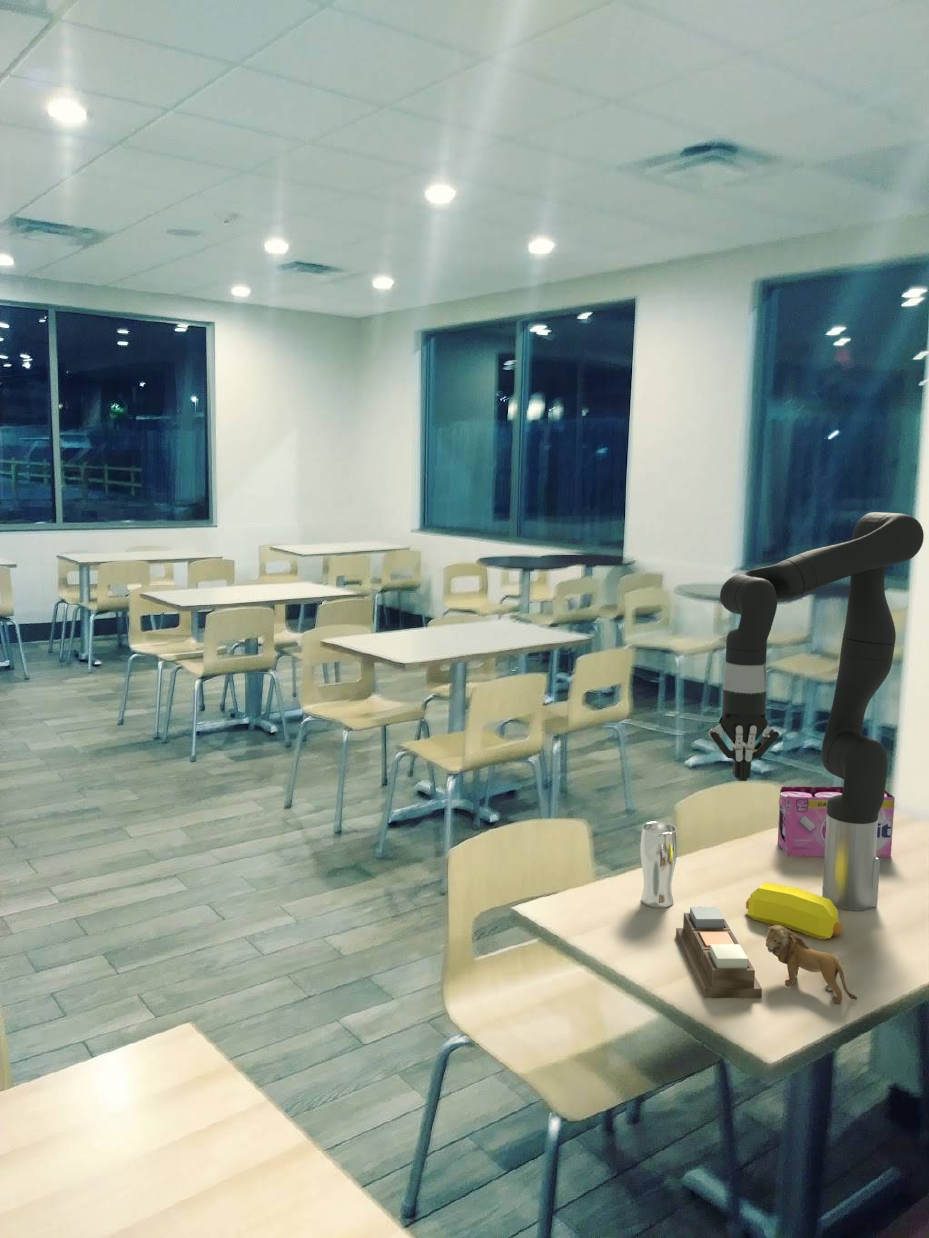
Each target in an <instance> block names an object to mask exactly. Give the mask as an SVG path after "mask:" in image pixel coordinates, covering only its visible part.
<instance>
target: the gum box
mask: <svg viewBox="0 0 929 1238" xmlns="http://www.w3.org/2000/svg"><path fill="white" fill-rule="evenodd" d="M842 792H843V786H795V785H793V786H792V785H791V786H780V790H779V798H778V799H779V800H778V805H779V806H778V809H779V810H778V812H779V813H778V814H779V815H778V828H777V832H778V833H777V844H778V846H779V847H780V848H781V849H782V851H783V852H784V853H785V854H786V855H787V857H824V853H825V834H826V815H827V802H828V800H829V798H831V797H832V796H836V795H842ZM894 811H895V796H893V794H891V793H890V792H889V791H887V790H886V789H885V795H884V801H883V804H882V806H881V808H880V810H879V814H878V826H877V844H876V857H878V858H891V857H892V843H893V830H894V829H893V828H894V816H895V815H894Z"/></svg>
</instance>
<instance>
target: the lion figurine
mask: <svg viewBox="0 0 929 1238" xmlns="http://www.w3.org/2000/svg"><path fill="white" fill-rule="evenodd" d="M766 934H767V935H766V939H765V947H766V948H767V951H768V952H769V953H772V955H774V956H776V957H777V960H778V962H780V963H782V964H785V965H786V968H787V974H788V978H789V979H785V980H784V983H785V985H786V986H793V985H794V984H795V982H796V979H797V978H798V976H799V969H802V970H805V971H807V972H810V973H820V972H821V975H822V977H823V979H824V982H825V983H826V985H825V986H824V988H825V990H827V991H828V992H829V991H831V992H832V991H833V992H834V993H835V995H836V996H834V997H833V998H832V1000H833V1003H834V1004H841V1003H842V1001H843V993H842V989H841V988H840V986H839V985H838V983H837V981H836V980H837V977H838V974H839V977H840V980H841V984H842V988H843V990H844V992H845V994H846V995H847V996H848V998H849V999H851V1000H854V1001H855V1000H857V999H858V998H857V996H856V995H854V994H853V993H851V992H850V991H849V990H848V986H847V983H846V978H845V973H844V971H843V968H842V965H841V963H840V960H839V959H838V958H837V957H836V956H835V955H833V954H832V953H830V952H825V951H819V950H817V949H816V950H815V949H813V948H810V947H809V946H807V944H805V942H804V940H803V939H802V938H800V936H798V935H797V934H795V933H794V932H793V930H791V929H790V928H787V927H782V926H780V925H771V926H769V927H767V933H766Z"/></svg>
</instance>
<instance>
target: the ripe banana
mask: <svg viewBox="0 0 929 1238" xmlns="http://www.w3.org/2000/svg"><path fill="white" fill-rule="evenodd" d="M745 908H746V909H747V912H746V913H747V915H748V916H749V917H750V918H752V920H755V921H757V922H761V923H765V924H767V925H768V924H769V925H772V926H775V925H780V926H782V927H785V928H787V929H789V930H791V931H796V932H798V933H801V934H803V935H806V936H809V937H812V938H815V939H819V940H827V939H831V938H832V937H835V936H836V937H837V936H840V935H841V933H842V931H843V926H842V923H840V922H839V910H838V907H835V906H834V904H833V903H832V901H831V900H830V899H827V898H824V897H822V895H818V894H815V893H812V892H809V891H807V890H803V889H801V888H797V887H793V886H789V885H788V886H787V885H781V884H776V883H772V882H768V881H767V882H764V883H763V884H761V885H760V886H758V887H757V888H756V889H755V890H753V892H751V893H750V896H749V898H747V899H746V902H745Z"/></svg>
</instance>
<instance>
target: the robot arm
mask: <svg viewBox="0 0 929 1238" xmlns="http://www.w3.org/2000/svg"><path fill="white" fill-rule="evenodd" d="M924 535H925V533H924V529H923V526H922V524H921V523H920V521H919V520H917V519H916V518H915V517H913V516H911V515H910V514H905V513H898V512H881V511H880V512H877V511H875V512H868V513H866V514H865V515H863V516H862V517H860V519H859V520H858V521H857V522H856V525H855V527H854V530H853V533H852V538H851V539H852V540H848V541H845V542H841V543H837V544H831V545H828V546H823V547H819V548H814V549H811V550H807V551H804V552H801V553H798V554H796V555H793V556H791V557H789V558H786V559H784V560H781V561H779V562H778V563H775V564H772V565H768V566H764V567H758V568H755V569H750V570H747V571H743V572H740V573H737V574H735V575H734V576H733V575H732V576H731V577H730V578H728V579H727V580H726V581H725V582H724V584H723V585H722V586H721V589H720V594H719V598H720V604H721V605H722V606H723V607H724V609H726V610H727V611H729V612H730V613H733V614H736V615H740V619H739V623H738V627H737V628H735V629H731V630H730V631H729V632H728V633H727V636H726V640H725V641H726V643H725V664H724V669H723V678H722V680H723V682H722V683H723V685H722V705H721V707H722V710H721V711H722V713H721V716H720V718H719V721H718V723H719V724H717V725H715V727H713V728H709V729H707V735H708V736H709V737H710V738H711V739H712V741H713V742H714V743H715V744H716V745H717V747H718V749H719V750H720V751H721V752H722V753H723V755H724V756H725V757H726V758H727V759H732V762H733V763H732V775H733V777H735V779H736V780H737V781H738V782H747V781H748V779H749V778H751V773H752V771H751V767H752V761H753V760H755V759H760V758H761V757H763V755H764V754H765V753H766V752H767V751H768V749H770V747H771V746H772V745H773V744H774V742H775V741H776V740H777V739H778V737H779V736H780V733H779V732H778V730H776V729H775V728H773V727H770V726H769V725H768V724H769V722H768V719H767V717H766V709H767V707H766V705H767V690H768V689H767V688H768V671H767V653H768V651H767V650H768V649H767V648H768V647H767V646H768V639H769V635H770V633H771V630H772V627H773V623H774V620H775V617H776V613H777V608H778V600H779V601H788V600H793V599H795V598H798V597H801V596H803V595H806V594H807V593H811V592H812V591H815V590H817V589H819V588H822V587H824V586H827V585H829V584H832V583H833V582H836V581H837V582H838V581H840V580H842V579H845V578H849V577H850V579H849V580H850V581H849V591H848V599H847V600H848V601H847V606H846V607H847V608H846V616H845V623H844V627H843V628H844V629H843V632H842V633H843V635H842V639H841V640H842V641H841V646H840V652H839V653H840V654H839V663H838V664H839V665H838V672H837V677H836V682H835V689H834V694H833V700H832V706H831V709H830V713H829V717H828V721H827V725H826V728H825V732H824V736H823V740H822V745H821V753H820V756H821V762H822V764H823V767H824V769H825V770H826V771H827V772H828V773H829V774H831V775H833V776H836V777H838V778H840V779H842V780H843V786H842V787H843V792H842V795H836V796H832V797H831V798H829V800H828V802H827V815H826V834H825V853H824V856H823V857H824V858H823V870H822V871H823V877H822V886H821V887H822V888H821V889H822V892H821V893H822V895H821V897H824V898H827V899H830V900H831V901H832V903H833V904H834V906H835V907H836V908H837V909H842V910H846V911H864V910H865V911H866V910H868V909H870V908H873V907H874V908H877V907H878V899H879V881H880V869H881V868H880V867H881V866H880V865H881V861H880V857H876V844H877V826H878V814H879V810H880V808H881V806H882V804H883V801H884V795H885V790H886V786H887V785H886V783H887V779H888V778H887V776H888V767H889V761H888V753H887V751H886V750H887V749H886V748H885V746H884V745H883V743H881V741H878V740H877V739H874V738H872V737H869V736H866V735H864V734H863V725H864V719H865V714H866V711H867V707H868V705H869V704H870V701H871V699H872V698H873V696H874V695H875V694H876V693H877V691H878V690H879V688H880V687H882V686H881V685H883V683H884V681H885V680H886V679H887V677H888V675H889V673H890V671H891V668H892V664H893V660H894V659H893V658H894V653H895V646H896V638H897V637H896V636H897V633H896V627H895V622H894V620H893V616H892V613H891V610H890V607H889V604H888V601H887V597H886V591H885V578H886V570H887V566H891V565H896V564H900V563H901V564H902V563H905V562H907V561H910V560H911V559H913V558H914V557H915V556H916V555H917V554H918V553H919V552H920V550H921V548H922V546H923V543H924V538H925V536H924ZM723 732H724V733H725V734H726V736H727V738H728V739H729V740H730V743H731V749H730V748H729V747H728V746H727V744H726V743H725V742H724V740H723V739H722V738H723V737H724V734H723ZM761 735H762V737H761V738H760V739H759V737H760V736H761ZM758 739H759V741H758ZM756 741H758V742H757V743H755V742H756Z"/></svg>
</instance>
